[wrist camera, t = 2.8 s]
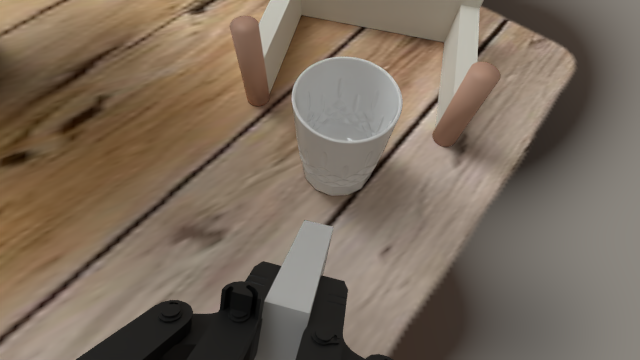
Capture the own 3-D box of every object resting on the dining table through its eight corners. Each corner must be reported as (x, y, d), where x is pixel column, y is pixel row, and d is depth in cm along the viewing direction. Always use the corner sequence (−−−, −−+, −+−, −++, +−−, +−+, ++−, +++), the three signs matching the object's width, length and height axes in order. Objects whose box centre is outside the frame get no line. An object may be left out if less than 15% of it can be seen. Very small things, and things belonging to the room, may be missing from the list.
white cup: (372, 131, 35) (394, 55, 26) (381, 201, 31) (410, 142, 22) (296, 132, 34) (291, 56, 25) (296, 203, 31) (291, 144, 22)
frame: (455, 149, 34) (500, 87, 26) (244, 103, 36) (225, 32, 28) (463, 34, 42) (500, -41, 34) (289, 1, 43) (284, -77, 35)
